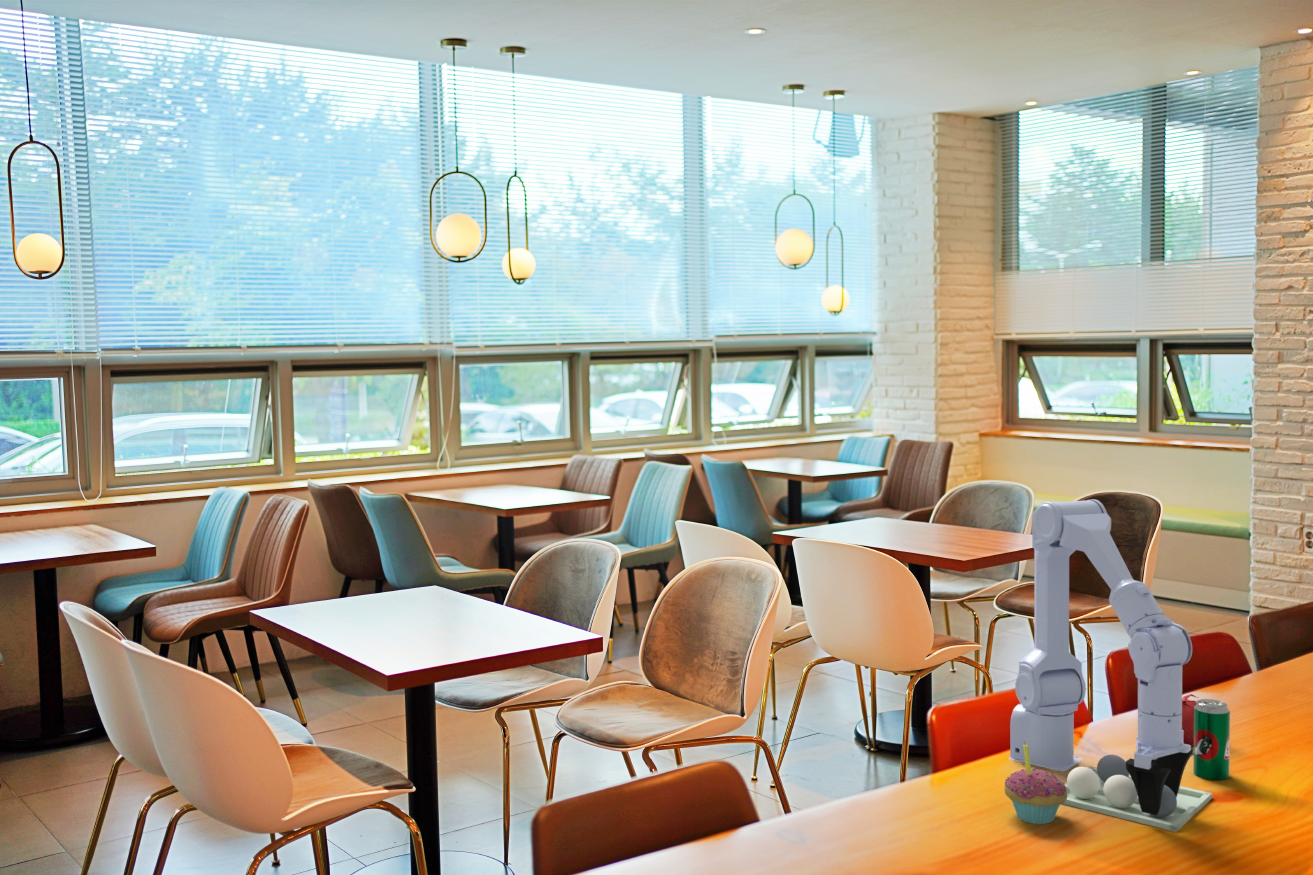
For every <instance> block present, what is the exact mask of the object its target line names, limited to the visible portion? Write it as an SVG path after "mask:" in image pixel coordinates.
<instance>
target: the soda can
mask: <svg viewBox="0 0 1313 875" xmlns="http://www.w3.org/2000/svg"><path fill="white" fill-rule="evenodd" d="M1196 702H1197V704H1196V706H1195V707H1194V745H1193V753H1192V755H1193V762H1192V763H1193V768H1192V770H1193V772H1192V773H1193V775H1194V776H1196V777H1197V778H1200V779H1202V780H1203V779H1204V780H1207V781H1212V782H1213V781H1214V782H1217V781H1218V782H1222V781H1227V780H1229V779H1230V766H1231V765H1230V762H1231V761H1230V760H1231V758H1230V752H1231V751H1230V750H1231V749H1230V748H1231V746H1230V745H1231V744H1230V743H1231V741H1230V740H1231V738H1230V737H1231V711H1230V709H1229V708H1228V703H1226V702H1225V701H1222V700H1219V699H1218V700H1217V699H1211V698H1210V699H1209V698H1205V699H1203V698H1202V699H1198V700H1196Z"/></svg>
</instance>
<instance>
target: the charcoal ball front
mask: <svg viewBox="0 0 1313 875" xmlns="http://www.w3.org/2000/svg"><path fill="white" fill-rule="evenodd" d="M1176 806H1177V799H1176V796H1175V794H1174V792H1173V791H1172V790H1171V789H1170V788H1169V787H1167V786H1166V785H1164V787H1163V792H1162V798H1161V805H1160V810H1159V813H1158V814H1157V815H1153V814H1151V815H1153V816H1156V817H1167V816H1169V815H1171V814H1172V813H1173V812H1174V811H1175V809H1176Z"/></svg>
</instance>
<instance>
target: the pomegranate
mask: <svg viewBox="0 0 1313 875" xmlns="http://www.w3.org/2000/svg"><path fill="white" fill-rule="evenodd" d="M1190 697H1192V698H1193V697H1194V698H1199V699H1200V697H1199V696H1196V695H1194V694H1192V693H1190V694H1187V695H1185V696H1182V730H1184V735H1183V743H1184V744H1188V745H1190V746H1191V747H1192V746H1194V707H1195V706H1196V704H1197V700H1191V699H1189V698H1190Z"/></svg>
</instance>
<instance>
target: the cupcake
mask: <svg viewBox="0 0 1313 875" xmlns="http://www.w3.org/2000/svg"><path fill="white" fill-rule="evenodd" d="M1024 744H1025V745H1023V748H1024V756H1025V763H1024V764H1025V769H1024V768H1023V769H1021V770H1018V771H1015V772H1012V773H1011V774H1010V775H1009V776H1008V777H1006V779H1005V780H1004V794H1005V796H1006V797H1008V799H1009V800H1011V802H1012V804H1013V807H1014V810H1015V813H1016V817H1017V818H1018V819H1019V820H1022V821H1023V822H1027V823H1032V824H1042V825H1043V824H1050V823H1052V822H1053V821H1054V820H1055V816H1056V814H1057V812H1058V809H1059V807H1060V806H1061V805H1063V804H1062V803H1064V802H1065V800H1066V799H1067V792H1066V786H1065V785H1064V784H1065V783H1064V781H1062V780H1061V779H1060V778H1059V777H1058V776H1056V775H1055V774H1053V773H1052V772H1049V771H1047V770H1046V769H1042V770H1041V769H1039V768H1033V769H1032V768H1031V764H1030V758H1029V749H1028V745H1026V742H1025V740H1024Z"/></svg>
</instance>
